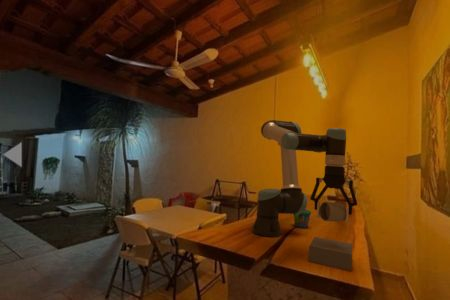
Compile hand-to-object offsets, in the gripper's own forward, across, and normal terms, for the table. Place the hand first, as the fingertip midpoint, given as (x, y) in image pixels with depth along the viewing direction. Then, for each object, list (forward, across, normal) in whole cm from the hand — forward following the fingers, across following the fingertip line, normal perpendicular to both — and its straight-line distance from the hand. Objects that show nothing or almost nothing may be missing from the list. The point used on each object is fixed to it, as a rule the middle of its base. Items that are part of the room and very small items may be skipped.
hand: (332, 220), depth 102 cm
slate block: (+16, 0, 0) cm, 16 cm away
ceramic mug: (+1, -1, +1) cm, 1 cm away
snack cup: (+16, -21, +48) cm, 55 cm away
